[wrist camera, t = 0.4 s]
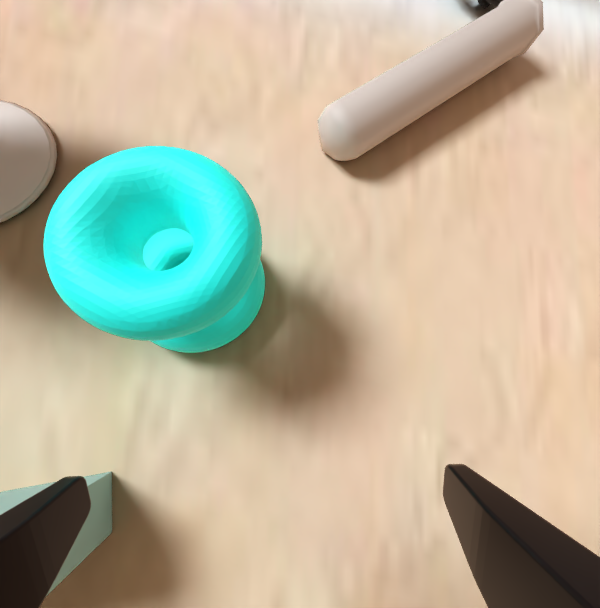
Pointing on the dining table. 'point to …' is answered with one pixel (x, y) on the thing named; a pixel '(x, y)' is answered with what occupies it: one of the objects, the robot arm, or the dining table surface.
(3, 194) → the chalice
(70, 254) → the donuts
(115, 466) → the dining table surface
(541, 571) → the robot arm
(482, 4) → the milk frother
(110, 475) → the slat
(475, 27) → the tube
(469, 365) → the dining table surface
